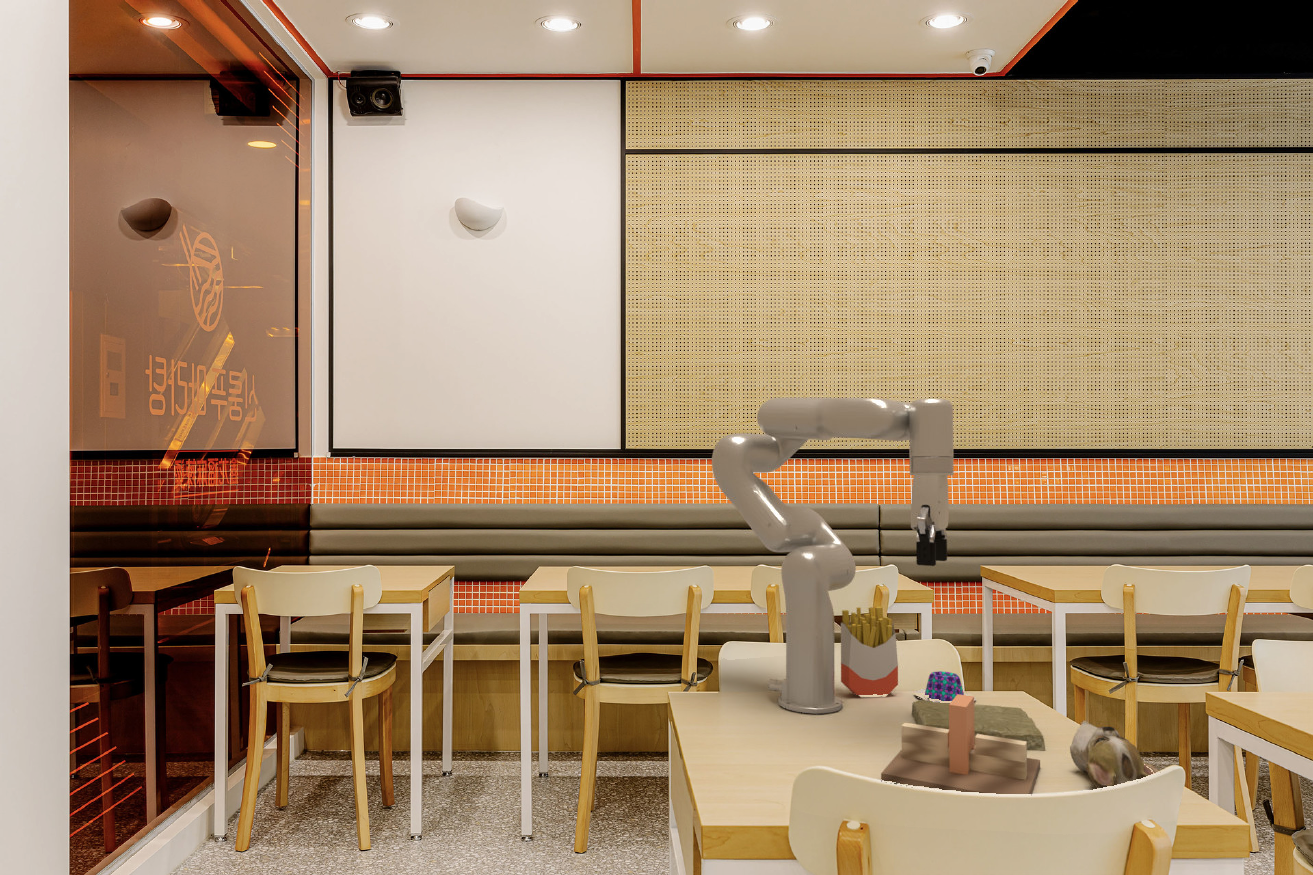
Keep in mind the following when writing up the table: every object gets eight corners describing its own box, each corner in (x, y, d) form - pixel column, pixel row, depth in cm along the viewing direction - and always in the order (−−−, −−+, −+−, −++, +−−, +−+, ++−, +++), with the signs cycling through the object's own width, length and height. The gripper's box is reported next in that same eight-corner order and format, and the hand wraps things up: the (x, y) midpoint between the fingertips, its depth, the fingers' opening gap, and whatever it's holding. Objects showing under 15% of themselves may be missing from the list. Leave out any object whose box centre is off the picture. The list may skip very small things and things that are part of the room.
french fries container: (898, 697, 170) (898, 609, 171) (849, 699, 168) (849, 610, 169) (888, 691, 175) (888, 606, 176) (840, 693, 173) (840, 607, 174)
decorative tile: (911, 715, 159) (911, 696, 159) (1022, 722, 155) (1022, 703, 155) (922, 746, 141) (921, 724, 141) (1048, 755, 137) (1048, 733, 137)
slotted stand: (881, 781, 123) (880, 739, 123) (910, 745, 139) (910, 708, 140) (1026, 809, 113) (1026, 763, 113) (1040, 767, 129) (1039, 727, 130)
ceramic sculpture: (1116, 709, 131) (1179, 746, 116) (1116, 763, 131) (1179, 807, 116) (1050, 710, 130) (1105, 747, 115) (1050, 765, 131) (1105, 809, 116)
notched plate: (949, 771, 124) (948, 704, 124) (958, 757, 130) (957, 694, 130) (967, 774, 123) (966, 706, 123) (974, 760, 129) (974, 696, 129)
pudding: (983, 698, 171) (983, 673, 171) (964, 711, 161) (963, 684, 162) (926, 689, 178) (926, 664, 178) (905, 700, 169) (904, 674, 169)
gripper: (920, 468, 157) (921, 557, 156) (898, 466, 142) (899, 566, 142) (961, 468, 154) (962, 560, 153) (943, 466, 139) (944, 568, 138)
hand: (932, 562), depth 147 cm, fingers open, 9 cm apart
